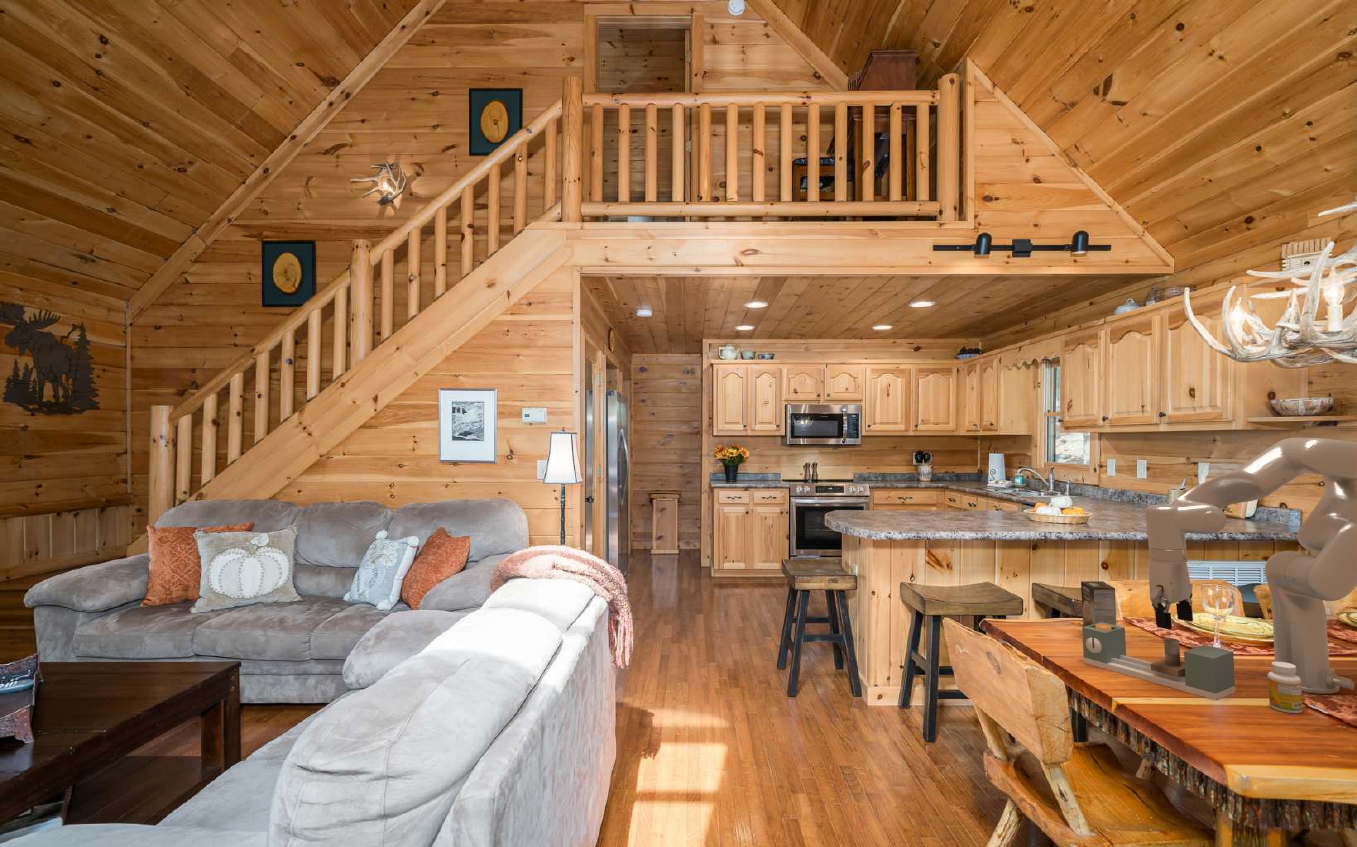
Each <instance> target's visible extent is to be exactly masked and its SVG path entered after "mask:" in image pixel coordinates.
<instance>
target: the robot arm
mask: <svg viewBox="0 0 1357 847" xmlns="http://www.w3.org/2000/svg"><path fill="white" fill-rule="evenodd" d="M1303 474H1309V475H1322V477H1323V480H1324V486H1325V487H1324V493H1323V494H1322V496H1321V497H1320V499H1319V501H1318V502H1317V504H1316V505H1315V506H1314V508H1313V509H1312V511H1311V512H1310V514H1308V516H1307V517H1306V519H1305V520H1304V522H1302V524H1301V526H1300V527H1299V529H1298V531H1297V535H1296V537H1297V538H1296V539H1297V541H1298V543H1299V545H1300V546H1302V547H1303V548H1304V549H1306V550H1308V551H1310V552H1312V553H1315V554H1317V556H1316V555H1314V554H1309V553H1304V552H1300V551H1293V550H1284V551H1279V552H1278V551H1277V552H1276V553H1274V554H1272V555H1271V556H1270V557H1269V558H1268V559H1267V561H1266V563H1265V565H1264V574H1265V579H1266V583H1267V586H1268V590H1269V595H1270V600H1271V601H1270V602H1271V612H1272V613H1271V614H1272V616H1271V617H1272V631H1273V646H1274V647H1273V648H1274V662H1285V663H1290V664H1293V665H1295V666H1296V673H1295V675H1297V676H1298V677H1299V678H1300V679H1301V690H1302V693H1303V692H1304V693H1310V694H1321V695H1322V694H1324V695H1325V694H1327V695H1328V694H1336V693H1338V692H1340V687H1341V688H1343V689H1348V690H1350V691H1351V690H1352V691H1353V690H1354V689H1355V682H1354V680H1353V681H1352V679H1351V678H1348V677H1345V676H1344V677H1343V676H1338V674H1336V672H1335V668H1330V659H1329V656H1330V655H1329V643H1328V642H1329V641H1328V625H1327V623H1328V620H1327V611H1326V606H1325V604H1324V602H1323V601H1325V602H1336V601H1339V600H1343V599H1344V598H1346V597H1348V596H1349V595H1350V594H1351V593H1352V592H1353V591H1354V589H1355V588H1356V587H1357V441H1350V440H1349V441H1348V440H1341V439H1331V438H1323V437H1289V438H1285V439H1282V440H1279V441H1277V442H1276V443H1274V444H1272V445H1271V446H1269V447H1268V448H1267V449H1264V450H1263V451H1262V452H1260V453H1259V454H1258V455H1256V456H1255V457H1253V458H1251V459H1250V460H1248V461H1247V462H1245V463H1244V464H1242V465H1240V466H1239V467H1238V468H1236V469H1234V470H1232V471H1230V472H1226V473H1224V474H1221V475H1219V476H1217V477H1215V478H1212V479H1210V480H1207V481H1204V482H1202V483H1200V484H1198V485H1196V486H1193V487H1192V488H1191V489H1189V490H1187V491H1186V492H1184V493H1183V494H1182V495H1180V496H1178V497H1176V499H1174V500H1173V501H1172V502H1171V503H1170V504H1169V503H1167V504H1165V503H1162V504H1161V503H1160V504H1150V505H1148V506H1146V508H1145V511H1144V512H1145V514H1144V515H1145V524H1146V532H1147V542H1148V543H1147V544H1148V545H1147V546H1148V553H1149V561H1150V562H1149V568H1148V569H1149V571H1148V578H1149V579H1148V580H1149V581H1148V583H1149V584H1148V586H1149V599H1150V602H1151V607H1152V608H1153V611H1154V615H1155V617H1154V618H1155V624H1156V625H1155V626H1156V627H1157V629H1158V628H1160V629H1165V630H1170V631H1171V630H1172V629H1173V623H1172V616H1171V612H1169V611H1170V608H1171V605H1173V604H1176V605H1175V606H1176V607H1175V608H1176V616H1177V620H1180V621H1185V622H1190V623H1192V622H1194V615H1193V606H1192V605H1193V600H1192V598H1193V588H1194V586H1193V584H1192V583H1191V581H1190V580H1191V579H1190V572H1189V568H1188V564H1187V563H1188V561H1189V560H1188V550H1187V542H1186V535H1187V534H1193V535H1194V534H1195V535H1197V534H1198V535H1213V534H1217V533H1218V532H1221V531H1222V530H1223V529H1224V528H1225V527H1226V526H1227V525H1226V524H1227V515H1226V513H1225V512H1224V511H1223V510H1222V509H1221V508H1225V507H1228V506H1230V505H1234V504H1240V503H1249V502H1253V501H1258V500H1261V499H1265V498H1267V497H1269V496H1270V495H1272V494H1273V493H1275V492H1277V491H1278V490H1279V489H1280V488H1282V487H1283V486H1286V485H1287V484H1289V483H1290V482H1292V481H1294V480H1295V479H1296V478H1298V477H1300V476H1301V475H1303ZM1272 671H1273V670H1272ZM1272 671H1269V672H1267V674H1266V676H1267V679H1268V674H1269V673H1270V672H1272Z"/></svg>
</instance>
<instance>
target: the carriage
mask: <svg viewBox="0 0 1357 847" xmlns="http://www.w3.org/2000/svg"><path fill="white" fill-rule="evenodd" d="M1163 643H1164V659H1161V660H1157V661H1155V662H1151V670H1153V671H1157V672H1160V673H1164V674H1168V675H1172V676H1175V677H1180V676H1183V675H1185V663H1184V661H1182V660H1181V655H1180V654H1181V652H1180V648H1181V647H1180V640H1179V639H1178V638H1174V637H1165V638H1163Z"/></svg>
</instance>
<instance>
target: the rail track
mask: <svg viewBox="0 0 1357 847" xmlns="http://www.w3.org/2000/svg"><path fill="white" fill-rule="evenodd" d="M1151 663H1152V662H1150V661H1147V660H1144V659H1143V660H1142V659H1140V658H1136V657H1131V656H1128V655H1126V656H1124V655H1120V659H1116V658H1111V662H1110V663H1107V664H1106V663H1102V662H1099V661H1095V660H1092V659H1088V658H1084V657H1083V664H1086V665H1090V666H1093V667H1097V668H1101V669H1104V670H1108V671H1111V672H1115V673H1119V674H1122V675H1125V676H1129V677H1132V678H1137V679H1140V680H1142V681H1147V682H1149V683H1150V682H1151V683H1154V684H1157V685H1159V686H1160V685H1161V686H1164V687H1166V688H1167V687H1168V688H1172V689H1175V690H1179V691H1182V692H1185V693H1189V694H1193V695H1196V696H1200V697H1203V698H1206V699H1210V700H1213V701H1217V700H1220V699H1223V698H1225V697H1227V696H1229V695H1231V694H1234V693H1236V685H1235V686H1233V687H1231V688H1228V689H1226V690H1223V691H1221V692H1219V693H1216V694H1215V693H1211V692H1208V691H1204V690H1200V689H1197V688H1193V687H1190V686H1186V682H1185V675H1183V676H1180V677H1175V676H1172V675H1168V674H1164V673H1160V672H1157V671H1153V670H1151Z"/></svg>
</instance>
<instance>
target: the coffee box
mask: <svg viewBox="0 0 1357 847" xmlns="http://www.w3.org/2000/svg"><path fill="white" fill-rule="evenodd" d="M1080 586H1081V587H1080V588H1081V591H1080V592H1081V609H1082V627H1086V626H1089V625H1093V624H1097V623H1100V622H1103V623H1108V624H1112V625H1117V610H1116V609H1117V608H1116V607H1117V605H1116V602H1117V601H1116V588H1115V587H1113V586H1112V585H1110V584H1108V583H1106V582H1105V581H1098V580H1097V581H1093V580H1092V581H1080Z"/></svg>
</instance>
